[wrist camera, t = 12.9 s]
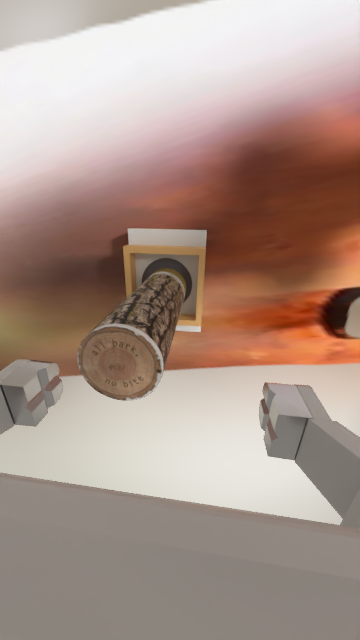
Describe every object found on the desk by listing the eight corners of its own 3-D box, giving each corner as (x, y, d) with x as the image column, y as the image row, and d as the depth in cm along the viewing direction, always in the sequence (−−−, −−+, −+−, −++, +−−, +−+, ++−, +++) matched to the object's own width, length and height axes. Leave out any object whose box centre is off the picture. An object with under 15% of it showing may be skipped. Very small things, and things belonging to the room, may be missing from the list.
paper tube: (148, 265, 40) (71, 322, 17) (188, 268, 39) (163, 330, 16) (148, 303, 42) (82, 396, 19) (185, 306, 42) (161, 405, 19)
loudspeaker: (206, 230, 41) (207, 231, 34) (201, 321, 48) (200, 339, 41) (136, 228, 43) (121, 229, 35) (140, 318, 49) (129, 334, 42)
